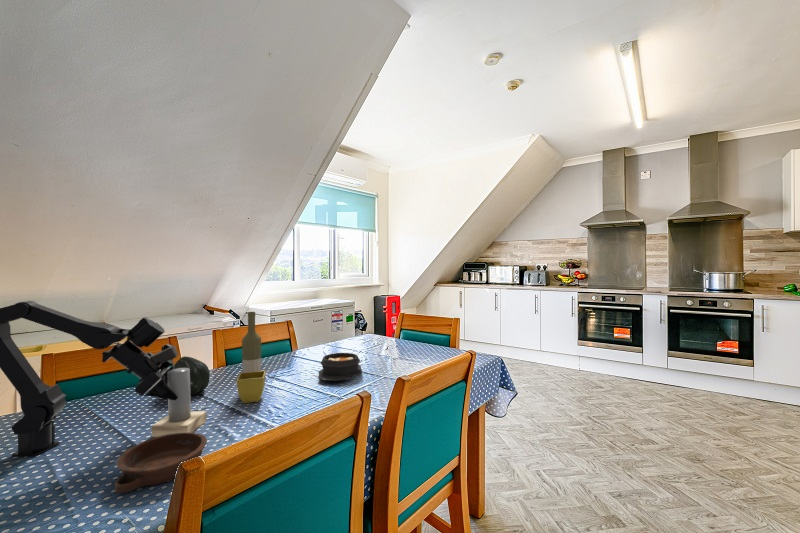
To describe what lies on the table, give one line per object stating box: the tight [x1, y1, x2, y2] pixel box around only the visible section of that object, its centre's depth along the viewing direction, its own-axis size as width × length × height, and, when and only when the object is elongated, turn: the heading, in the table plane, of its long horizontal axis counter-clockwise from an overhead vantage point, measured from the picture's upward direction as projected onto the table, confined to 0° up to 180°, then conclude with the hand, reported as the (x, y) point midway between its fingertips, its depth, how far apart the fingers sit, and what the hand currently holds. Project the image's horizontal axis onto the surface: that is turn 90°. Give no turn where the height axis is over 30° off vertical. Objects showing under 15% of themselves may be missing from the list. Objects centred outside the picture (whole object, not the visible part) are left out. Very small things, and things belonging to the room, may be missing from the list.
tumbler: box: [167, 368, 192, 422], centre depth 105 cm, size 6×6×14 cm
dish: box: [114, 432, 208, 494], centre depth 85 cm, size 18×22×5 cm
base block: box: [150, 410, 207, 438], centre depth 106 cm, size 10×10×3 cm
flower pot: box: [236, 370, 266, 404], centre depth 128 cm, size 9×9×9 cm
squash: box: [173, 355, 211, 396], centre depth 135 cm, size 14×15×15 cm
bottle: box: [241, 311, 262, 373], centre depth 138 cm, size 7×7×30 cm
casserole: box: [317, 352, 363, 382], centre depth 156 cm, size 25×19×8 cm
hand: (179, 393), depth 106 cm, fingers open, 9 cm apart
